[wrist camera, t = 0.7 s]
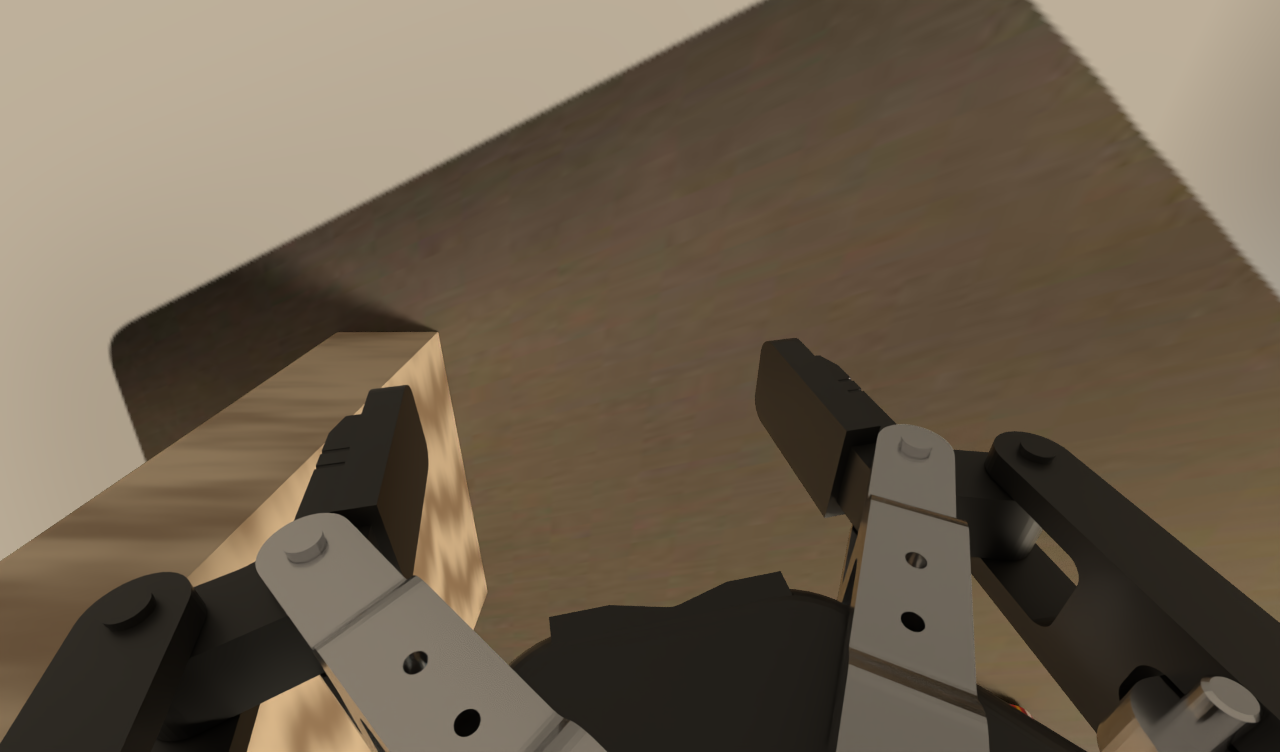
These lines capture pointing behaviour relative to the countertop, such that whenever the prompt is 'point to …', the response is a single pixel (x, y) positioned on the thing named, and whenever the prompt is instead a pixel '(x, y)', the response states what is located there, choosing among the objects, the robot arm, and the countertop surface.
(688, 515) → the countertop surface
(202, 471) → the wavy striped plinth
